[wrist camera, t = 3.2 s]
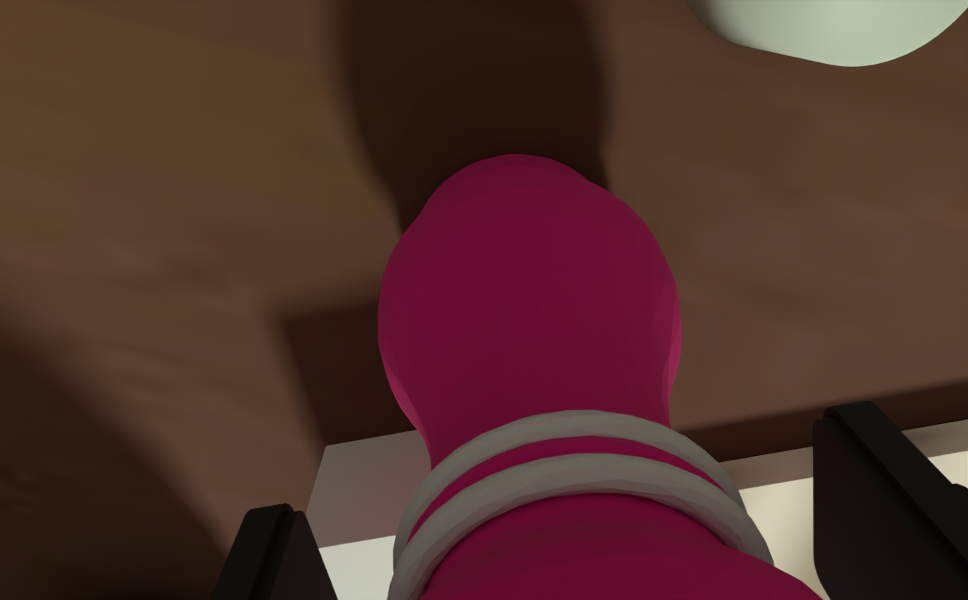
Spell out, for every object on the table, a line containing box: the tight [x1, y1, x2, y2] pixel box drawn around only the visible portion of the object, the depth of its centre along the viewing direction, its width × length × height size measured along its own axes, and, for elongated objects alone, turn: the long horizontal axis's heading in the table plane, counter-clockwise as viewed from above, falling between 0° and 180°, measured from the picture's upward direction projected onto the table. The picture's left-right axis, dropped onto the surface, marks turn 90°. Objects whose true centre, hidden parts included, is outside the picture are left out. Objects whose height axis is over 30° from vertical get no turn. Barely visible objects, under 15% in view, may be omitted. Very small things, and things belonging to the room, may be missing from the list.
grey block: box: [306, 430, 431, 600], centre depth 23 cm, size 5×5×5 cm
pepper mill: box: [378, 154, 823, 600], centre depth 12 cm, size 7×7×20 cm
